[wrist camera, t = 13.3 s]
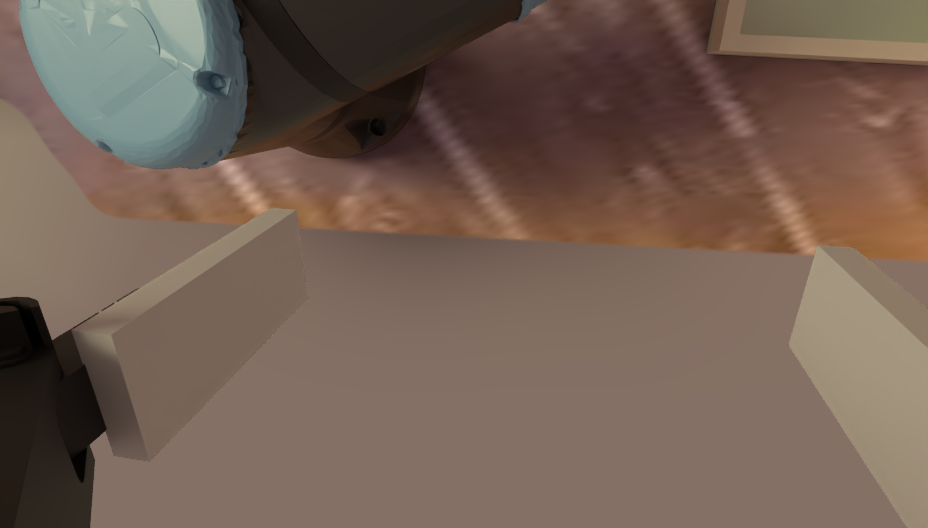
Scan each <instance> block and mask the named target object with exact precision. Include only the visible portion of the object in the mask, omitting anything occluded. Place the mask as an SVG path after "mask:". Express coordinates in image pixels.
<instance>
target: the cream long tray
mask: <svg viewBox="0 0 928 528" xmlns="http://www.w3.org/2000/svg"><path fill="white" fill-rule="evenodd" d="M706 54H720V55H739V56H757V57H776V58H794V59H813V60H832V61H850V62H869V63H887V64H906V65H924V66H928V0H716V5H715V10H714V15H713V21H712V26H711V31H710V36H709V41H708V47H707V52H706Z"/></svg>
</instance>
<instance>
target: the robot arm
mask: <svg viewBox="0 0 928 528" xmlns="http://www.w3.org/2000/svg"><path fill="white" fill-rule="evenodd" d="M545 1H547V0H20V5H19V17H20V23H21V27H22V31H23V35H24V39H25V42H26V46H27V48H28V51H29V54H30V57H31V59H32V62H33V64H34V67H35V69H36V71H37V73H38V75H39V77H40V79H41V81H42V83H43V85H44V86H45V88H46V90H47V92H48V93H49V95H50V96H51V98H52V99H53V101H54V102H55V104H56V105H57V107H58V108H59V109H60V111H61V112H62V113H63V115H64V116H65V117H66V118H67V119H68V120H69V121H70V123H71V124H72V125H73V126H74V127H75V128H76V129H77V130H78V131H79V132H80V133H81V134H82V135H83V136H84V137H86V138H87V139H88V140H89V141H91V142H92V143H93V144H95V145H96V146H97V147H99V148H100V149H102V150H103V151H106V152H111V153H112V154H113V155H115V156H117V157H119V158H120V159H122V160H123V161H124V162H127V163H129V164H132V165H136V166H140V167H144V168H151V169H172V168H180V167H181V168H189V169H198V168H206V167H209V166H211V165H214V164H216V163H218V162H219V161H222V160H226V159H231V158H236V157H241V156H245V155H250V154H255V153H260V152H264V151H269V150H274V149H278V148H283V147H288V146H289V147H291V148H294V149H296V150H298V151H300V152H303V153H306V154H309V155H313V156H317V157H324V158H343V157H350V156H354V155H358V154H361V153H364V152H368V151H370V150H373V149H375V148H377V147H379V146H381V145H382V144H384V143H386V142H387V141H388V140H390V139H391V138H392V137H393V136H395V135H396V134H397V133H398V132H399V131H400V130H401V128H402V127H403V126H404V125H405V124H406V122H407V121H408V119H409V118H410V116H411V115H412V113H413V111H414V109H415V107H416V105H417V102H418V100H419V97H420V94H421V90H422V86H423V82H424V75H425V65H426V64H428V63H430V62H432V61H434V60H436V59H438V58H440V57H442V56H444V55H446V54H448V53H450V52H451V51H453V50H455V49H457V48H459V47H461V46H463V45H465V44H467V43H469V42H471V41H473V40H475V39H477V38H479V37H481V36H482V35H484V34H486V33H488V32H490V31H492V30H494V29H496V28H498V27H500V26H502V25H504V24H506V23H508V22H512V23H517V22H519V21H521V20H523V18H524V17H525V16H527V15H528V14H529V13H530V11H531V9H533V8H535V7H537V6H538V5H540V4H542V3H544V2H545ZM307 299H308V296H307V287H306V279H305V271H304V264H303V257H302V248H301V240H300V232H299V225H298V217H297V210H294V209H279V208H270V209H268V210H267V211H265V212H263V213H262V214H260V215H259V216H257V217H255V218H254V219H252V220H250V221H249V222H247V223H245V224H244V225H242V226H241V227H239V228H237V229H236V230H234V231H232V232H231V233H229V234H228V235H226V236H224V237H223V238H221V239H219V240H218V241H216V242H214V243H213V244H211V245H210V246H208V247H206V248H205V249H203V250H201V251H200V252H198V253H196V254H195V255H193V256H192V257H190V258H188V259H187V260H185V261H183V262H182V263H180V264H179V265H177V266H175V267H174V268H172V269H170V270H169V271H167V272H166V273H164V274H162V275H161V276H159V277H158V278H156V279H154V280H152V281H151V282H149V283H148V284H146V285H144V286H143V287H141V288H138V289H136V290H134V291H132V292H131V293H129V294H128V295H126V296H124V297H123V298H121V299H119V300H118V301H117V302H116V303H113V304H111V305H109V306H108V307H106V308H104V309H103V310H102V312H100V313H96V314H95V315H93V316H92V317H90V318H88V319H87V320H85V321H83V322H81V323H80V324H78V325H77V326H75V327H73V328H72V329H70V330H69V331H67V332H65V333H63V334H62V335H60V336H58V337H57V338H55V339H54V340H52V339H51V336H50V333H49V331H48V328H47V325H46V322H45V320H44V317H43V314H42V311H41V308H40V306H39V303H38V301H37V300H35V299H32V298H29V297H11V298H2V299H0V528H90V521H91V507H92V493H93V480H94V466H95V459H94V456H93V453H92V451H91V448H90V444H91V443H92V442H93V441H94V440H95V439H97V438H98V437H99V436H100V435H101V434H102V433H103V432H105V431H106V434H107V437H108V440H109V442H110V445H111V448H112V452H113V454H114V456H118V457H124V458H130V459H137V460H143V461H151V460H152V459H153V458H154V457H155V456H156V455H157V454H158V453H159V452H160V451H161V450H162V448H163V447H165V445H166V444H167V443H168V442H169V441H170V440H171V439H172V438H173V437H174V436H175V435H176V434H177V433H178V432H179V431H180V430H181V429H182V428H183V427H184V426H185V425H186V424H187V423H188V422H189V421H190V419H192V417H194V415H195V414H196V413H197V412H198V411H199V410H200V409H201V408H202V407H203V406H204V405H205V404H206V403H207V402H208V401H209V400H210V399H211V398H212V397H213V396H214V395H215V394H216V393H217V392H218V391H219V390H220V389H221V388H222V387H223V385H225V384H226V382H228V380H229V379H230V378H231V377H232V376H233V375H234V374H235V373H236V372H237V371H238V370H239V369H240V368H241V367H242V366H243V365H244V364H245V363H246V362H247V361H248V360H249V359H250V358H251V357H252V356H253V355H254V354H255V353H256V351H258V350H259V348H260V347H261V346H262V345H263V344H264V343H265V342H266V341H267V340H268V339H269V338H270V337H271V336H272V335H273V334H274V333H275V332H276V331H277V330H278V329H279V328H280V326H282V325H283V324H284V323H285V322H286V321H287V320H288V318H289V317H290V316H291V315H292V314H293V313H294V312H295V311H296V310H297V309H298V308H299V307H300V306H301V305H302V304H303V303H304V302H305V301H306V300H307ZM789 347H790V348H791V350H792V351H793V353H794V354H795V356H796V358H797V359H798V361H799V362H800V364H801V365H802V367H803V368H804V370H805V371H806V373H807V374H808V376H809V377H810V379H811V381H812V382H813V384H814V385H815V387H816V388H817V390H818V392H819V393H820V395H821V396H822V398H823V399H824V401H825V402H826V404H827V405H828V407H829V408H830V410H831V412H832V413H833V415H834V416H835V418H836V419H837V420H838V422H839V424H840V426H841V427H842V429H843V430H844V432H845V433H846V435H847V436H848V438H849V439H850V441H851V442H852V444H853V445H854V447H855V449H856V450H857V452H858V453H859V455H860V456H861V458H862V459H863V461H864V462H865V464H866V466H867V467H868V469H869V470H870V472H871V473H872V475H873V476H874V478H875V480H876V481H877V483H878V484H879V486H880V487H881V489H882V490H883V492H884V493H885V495H886V497H887V498H888V500H889V501H890V503H891V504H892V506H893V507H894V509H895V510H896V512H897V514H898V515H899V517H900V518H901V520H902V521H903V523H904V524H905V526H906V527H907V528H928V308H927V307H925V306H924V305H923V304H922V303H921V302H919V301H918V300H917V299H916V298H914V297H913V296H912V295H911V294H909V293H908V292H907V291H906V290H905V289H903V288H902V287H901V286H900V285H899V284H897V283H896V282H895V281H894V280H892V279H891V278H890V277H889V276H888V275H887V274H885V273H884V272H883V271H882V270H880V269H879V268H878V267H877V266H876V265H874V264H873V263H872V262H871V261H870V260H868V259H867V258H866V257H865V256H864V255H862V254H861V253H860V252H859V251H857V250H856V249H855V248H854V247H839V246H825V245H818V246H817V249H816V253H815V256H814V259H813V263H812V266H811V270H810V273H809V277H808V280H807V284H806V287H805V290H804V294H803V297H802V301H801V304H800V308H799V311H798V315H797V318H796V321H795V325H794V328H793V331H792V335H791V339H790V342H789Z"/></svg>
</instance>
